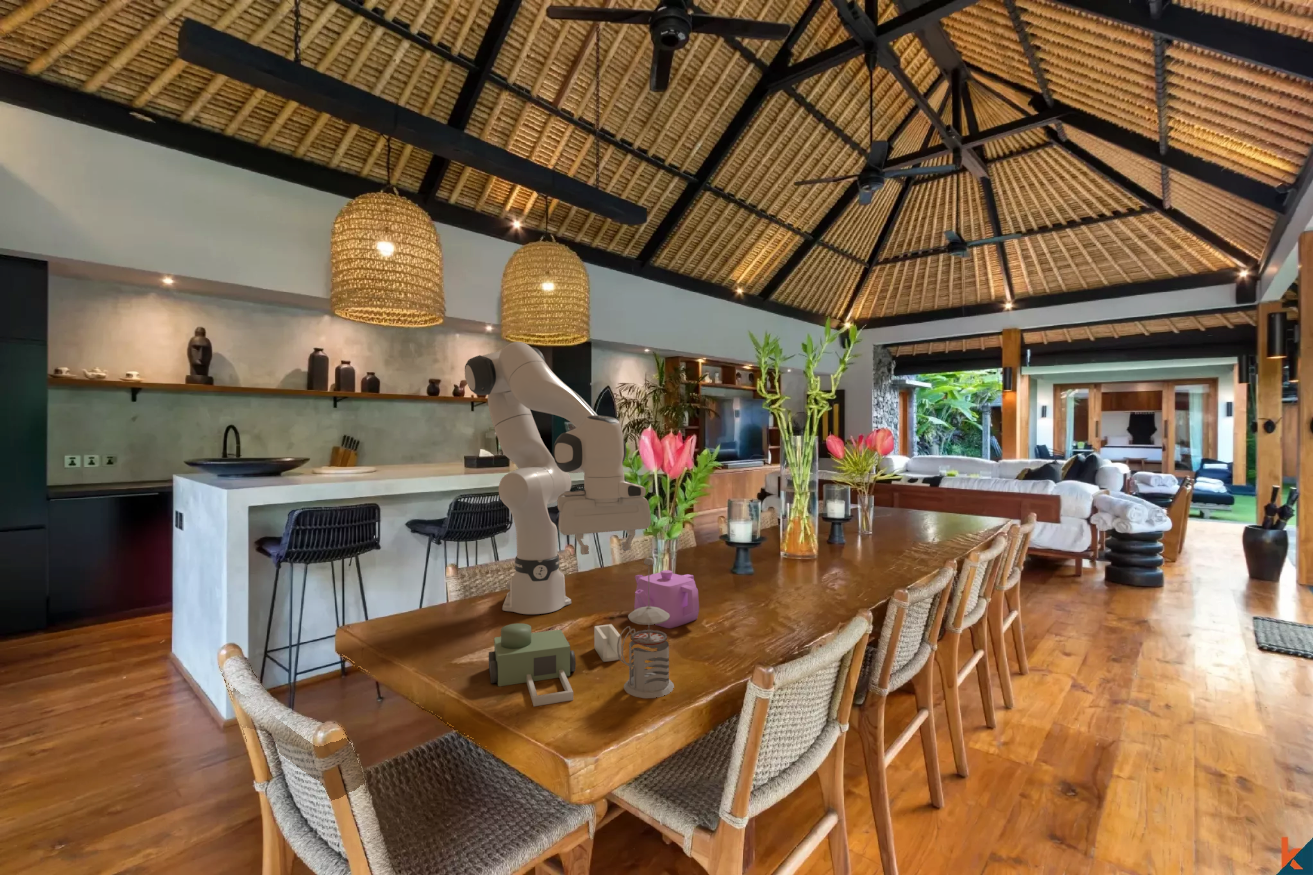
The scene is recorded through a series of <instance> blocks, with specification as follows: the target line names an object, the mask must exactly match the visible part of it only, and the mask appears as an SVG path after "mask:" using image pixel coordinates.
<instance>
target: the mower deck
mask: <svg viewBox="0 0 1313 875" xmlns="http://www.w3.org/2000/svg"><path fill="white" fill-rule="evenodd" d="M493 639H494V640H493V642H494V644H493V645H494V646H493V648H494V650H493V651H488V672H489V675H490V676H489V678H490V684H495V683H497V687H504V686H505V687H506V686H511V685H518V684H523V683H526V685H527V689H528V692H529V695H530V699H531V701H532V705H533V707H539V706H545V705H551V704H556V703H563V702H569V701H573V700H574V690H573V689H572V686H571V683H570V682H569V679H568V677H570V676H571V673H572V672H575V671H576V665H577V664H576V653H575V651H574V650H571V645H570V642H569V641H568V640H567V638H566V636H565V634H564V632H563V631H562V629H554V630H545V631H537V632H532V626H531V625H530V624H527V623H510V624H507V625H505V626H503V627H502V628H501V629H500V636H495V637H494V638H493ZM557 678H559V681H560V683H561V686H562V688H563V689H564V691H558V692H551V693H544V694H538V692H537V690H536V686H535V684H534V682H537V681H545V680H551V679H557Z"/></svg>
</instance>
